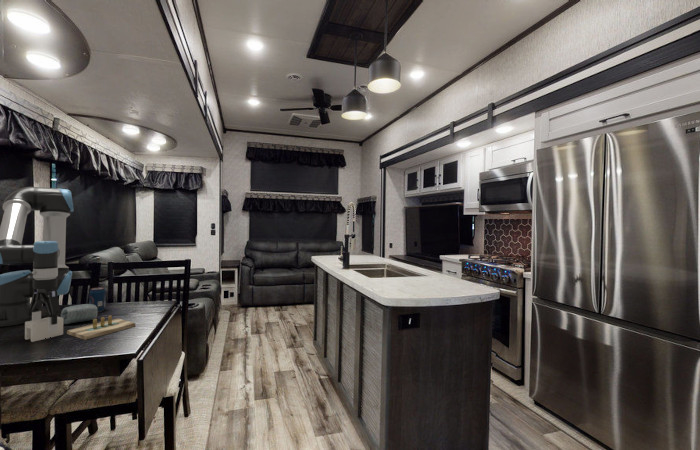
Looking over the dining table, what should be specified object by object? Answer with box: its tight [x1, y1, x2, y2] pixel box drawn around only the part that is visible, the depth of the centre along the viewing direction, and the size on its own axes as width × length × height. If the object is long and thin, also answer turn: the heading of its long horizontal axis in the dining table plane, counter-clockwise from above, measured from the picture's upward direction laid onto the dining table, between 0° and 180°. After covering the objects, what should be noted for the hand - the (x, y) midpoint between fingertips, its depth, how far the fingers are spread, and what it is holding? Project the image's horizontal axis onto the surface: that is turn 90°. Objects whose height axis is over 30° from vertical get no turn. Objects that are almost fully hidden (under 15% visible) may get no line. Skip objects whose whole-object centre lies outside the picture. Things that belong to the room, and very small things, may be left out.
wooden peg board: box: [66, 315, 136, 341], centre depth 146 cm, size 14×20×6 cm
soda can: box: [88, 286, 107, 313], centre depth 174 cm, size 7×7×12 cm
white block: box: [24, 316, 64, 343], centre depth 136 cm, size 6×10×7 cm, turn 154°
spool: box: [60, 303, 99, 325], centre depth 156 cm, size 14×10×10 cm
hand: (44, 329), depth 136 cm, fingers open, 13 cm apart
